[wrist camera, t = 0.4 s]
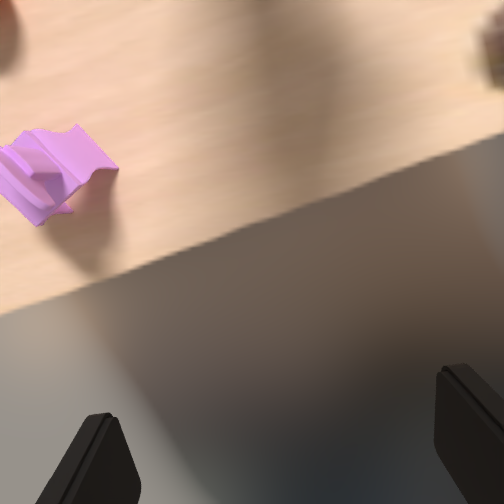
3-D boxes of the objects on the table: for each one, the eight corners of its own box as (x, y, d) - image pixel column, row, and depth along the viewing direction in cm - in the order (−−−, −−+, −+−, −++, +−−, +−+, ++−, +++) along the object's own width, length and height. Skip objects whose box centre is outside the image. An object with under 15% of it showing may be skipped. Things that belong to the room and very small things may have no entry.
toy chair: (19, 168, 37) (-121, 183, 23) (70, 115, 35) (-48, 96, 21) (75, 221, 39) (-21, 266, 25) (125, 174, 38) (53, 193, 23)
